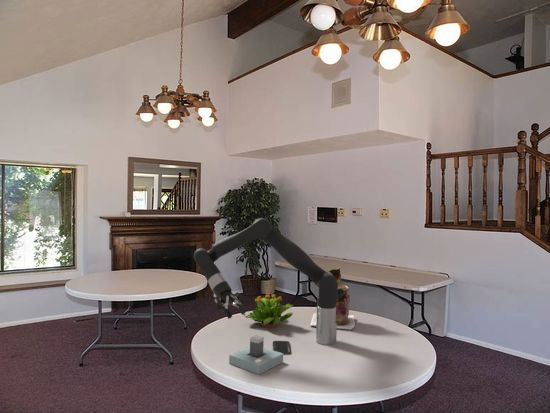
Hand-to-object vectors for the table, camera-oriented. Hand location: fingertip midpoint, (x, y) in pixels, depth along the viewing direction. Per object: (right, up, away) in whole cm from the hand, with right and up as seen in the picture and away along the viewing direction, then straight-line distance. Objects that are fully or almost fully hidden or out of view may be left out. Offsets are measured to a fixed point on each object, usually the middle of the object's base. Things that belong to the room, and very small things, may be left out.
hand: (237, 315), depth 166 cm
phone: (+19, -19, +10) cm, 29 cm away
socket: (+9, -18, -7) cm, 21 cm away
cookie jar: (+50, -19, +52) cm, 75 cm away
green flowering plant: (+14, -18, +46) cm, 51 cm away
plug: (+9, -17, -7) cm, 20 cm away
